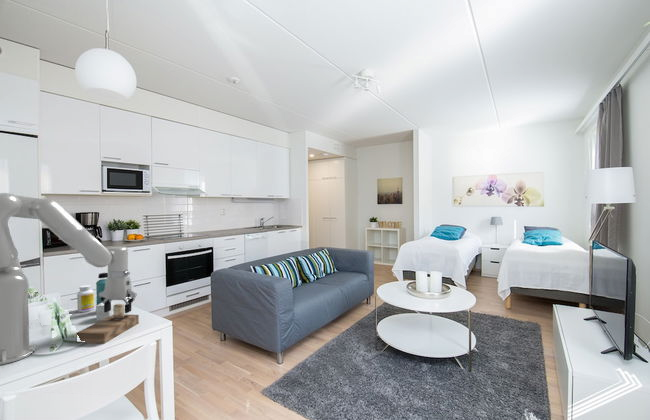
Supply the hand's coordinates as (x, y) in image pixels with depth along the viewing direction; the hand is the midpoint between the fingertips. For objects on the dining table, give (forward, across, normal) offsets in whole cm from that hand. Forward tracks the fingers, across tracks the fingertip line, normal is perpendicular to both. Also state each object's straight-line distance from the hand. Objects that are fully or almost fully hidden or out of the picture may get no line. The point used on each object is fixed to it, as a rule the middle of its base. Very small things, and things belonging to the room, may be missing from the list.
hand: (117, 311), depth 136 cm
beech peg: (+7, 0, 0) cm, 7 cm away
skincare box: (+7, +14, -10) cm, 18 cm away
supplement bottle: (+7, +33, -19) cm, 38 cm away
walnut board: (+7, 0, +5) cm, 9 cm away
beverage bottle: (+7, +22, -18) cm, 29 cm away
